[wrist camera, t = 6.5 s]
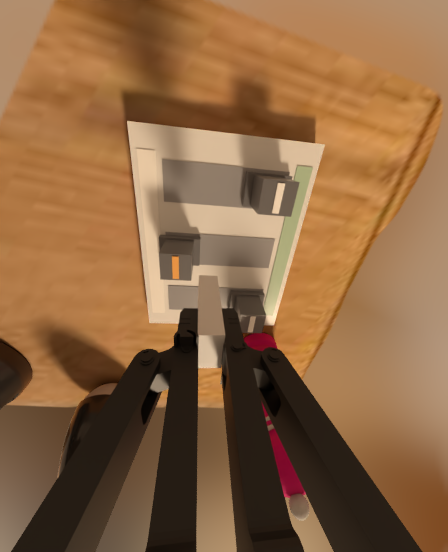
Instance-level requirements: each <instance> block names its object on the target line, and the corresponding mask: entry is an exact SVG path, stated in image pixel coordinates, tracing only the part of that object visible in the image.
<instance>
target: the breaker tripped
mask: <svg viewBox="0 0 448 552" xmlns="http://www.w3.org/2000/svg"><path fill="white" fill-rule="evenodd" d="M200 241H201V237H190V236H175V235H160V236H159V248H160V252H159V265H160V280H184V281H191V279H192V271H193V266H199V265H200Z"/></svg>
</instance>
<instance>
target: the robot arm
mask: <svg viewBox="0 0 448 552" xmlns="http://www.w3.org/2000/svg"><path fill="white" fill-rule="evenodd" d="M221 364H222V376H221V383H220V384H222V388H223V399H224V410H225V421H226V433H227V444H228V455H229V465H230V477H231V489H232V500H233V511H234V522H235V533H236V545H237V552H304V550H303V546H302V544H301V541H300V539H299V537H298V535H297V533H296V532H295V530H294V529H293V527H292V524H291V521H290V517H289V513H288V509H287V505H286V501H285V497H284V493H283V489H282V484H281V480H280V476H279V472H278V468H277V464H276V460H275V456H274V451H273V447H272V443H271V439H270V435H269V431H268V427H267V423H266V418H265V414H264V410H263V406H262V403H263V405H264V408H265V410H266V412H267V414H268V416H269V418H270V420H271V422H272V424H273V426H274V428H275V430H276V433H277V435H278V437H279V439H280V441H281V443H282V445H283V447H284V449H285V451H286V453H287V455H288V457H289V460H290V462H291V464H292V466H293V468H294V470H295V472H296V474H297V476H298V478H299V480H300V482H301V484H302V487H303V489H304V491H305V493H306V495H307V497H308V499H309V501H310V503H311V505H312V507H313V509H314V512H315V514H316V515H317V518H318V520H319V522H320V524H321V526H322V528H323V530H324V532H325V534H326V536H327V538H328V540H329V543H330V545H331V547H332V549H333V551H334V552H422V551H421V549H420V548H419V546H418V545H417V544H416V542H415V541H414V539H413V538H412V536H411V535H410V533H409V532H408V531H407V530H406V528H405V526H404V525H403V523H402V522H401V521H400V519H399V518H398V516H397V515H396V514H395V512H394V511H393V509H392V508H391V506H390V505H389V503H388V502H387V501H386V499H385V498H384V496H383V495H382V494H381V492H380V491H379V489H378V488H377V487H376V485H375V484H374V482H373V481H372V479H371V478H370V476H369V475H368V474H367V472H366V471H365V469H364V468H363V466H362V465H361V464H360V462H359V461H358V459H357V458H356V457H355V455H354V454H353V452H352V451H351V449H350V448H349V447H348V445H347V444H346V442H345V441H344V440H343V438H342V437H341V435H340V434H339V433H338V431H337V429H336V428H335V427H334V425H333V424H332V422H331V421H330V420H329V418H328V417H327V415H326V414H325V412H324V411H323V409H322V408H321V407H320V405H319V404H318V402H317V401H316V400H315V398H314V396H313V395H312V394H311V392H310V391H309V390H308V388H307V386H306V385H305V384H304V382H303V381H302V379H301V378H300V376H299V375H298V374H297V372H296V371H295V369H294V368H293V367H292V365H291V364H290V362H289V361H288V359H287V358H286V357H285V355H284V354H283V353H282V352H281V351H280V350H278V349H277V348H273V347H268V348H265V349H264V350H263V351H259V350H255V349H253V348H251V347H249V346H248V345H247V343H246V342H244V339H243V335H242V330H241V326H240V322H239V317H238V313H237V312H236V311H235V309H234V308H222V307H221V299H220V292H219V285H218V277H217V276H208V275H199V286H198V308H184V309H183V310H182V311H181V312H180V318H179V325H178V331H177V332H176V333H175V335H174V346H173V347H172V348H170V349H169V350H166V351H163V352H160V353H158V352H157V351H156V350H153V349H146V350H142V351H141V352H139V353H138V354H137V355H136V356H135V357H134V359H133V360H132V362H131V363H130V365H129V366H128V368H127V370H126V371H125V373H124V374H123V376H122V377H121V379H120V381H119V382H118V384H117V385H116V387H115V389H114V390H113V392H112V393H111V395H110V396H109V398H108V400H107V401H106V403H105V404H104V406H103V408H102V409H101V411H100V412H99V414H98V415H97V417H96V419H95V420H94V422H93V423H92V425H91V426H90V428H89V430H88V431H87V433H86V434H85V436H84V438H83V439H82V441H81V442H80V444H79V445H78V447H77V449H76V450H75V452H74V453H73V455H72V456H71V458H70V460H69V461H68V463H67V464H66V466H65V468H64V469H63V471H62V472H61V474H60V475H59V477H58V479H57V480H56V482H55V483H54V485H53V487H52V488H51V490H50V491H49V493H48V495H47V496H46V498H45V499H44V501H43V502H42V504H41V505H40V507H39V509H38V510H37V512H36V513H35V515H34V517H33V518H32V520H31V522H30V523H29V525H28V526H27V528H26V529H25V531H24V532H23V534H22V536H21V537H20V539H19V540H18V542H17V543H16V545H15V547H14V548H13V550H12V551H11V552H95V551H96V549H97V546H98V544H99V541H100V539H101V537H102V534H103V532H104V529H105V527H106V525H107V522H108V520H109V517H110V515H111V513H112V510H113V508H114V505H115V503H116V500H117V498H118V496H119V493H120V491H121V489H122V486H123V484H124V481H125V479H126V477H127V474H128V472H129V469H130V467H131V465H132V462H133V460H134V457H135V455H136V453H137V450H138V448H139V446H140V443H141V441H142V438H143V436H144V434H145V431H146V429H147V426H148V424H149V422H150V419H151V417H152V414H153V412H154V410H155V407H156V405H157V402H158V400H159V398H160V395H161V393H162V391H164V390H167V389H169V390H168V397H167V404H166V412H165V419H164V426H163V434H162V441H161V448H160V456H159V463H158V470H157V478H156V485H155V492H154V500H153V508H152V514H151V522H150V529H149V536H148V542H147V547H146V551H145V552H196V506H197V505H196V504H197V420H198V418H197V417H198V414H197V413H198V368H221ZM31 379H32V369H31V367H30V365H29V363H28V362H27V361H26V360H25V358H24V357H23V356H21V355H20V354H19V353H18V352H17V351H15V350H14V349H12V348H11V347H9V346H7V345H5V344H3V343H1V342H0V409H1V408H3V407H4V406H5V405H6V404H7V403H9V402H11V401H13V400H14V399H16V398H17V397H18V396H19V395H20V394H21V393H22V392H23V390H24V389H25V388H26V386H27V385H28V384H29V383H30V381H31ZM261 401H262V402H261Z"/></svg>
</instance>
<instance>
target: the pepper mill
mask: <svg viewBox="0 0 448 552" xmlns="http://www.w3.org/2000/svg"><path fill="white" fill-rule="evenodd" d="M244 342H246V343H247V345H248V346H249V347H251V348H253V349H255V350H259V351H263V350H264V349H265V348H268V347H273V348H277V346H276V343H275V340H274V338H273V337H272V336H270V335H268V334H266V333H253V334H250V335H248V336H246V337H245V338H244ZM261 402H262V401H261ZM262 406H263V410H264V414H265V418H266V423H267V427H268V431H269V435H270V439H271V443H272V447H273V451H274V456H275V460H276V464H277V468H278V472H279V476H280V480H281V484H282V489H283V493H284V497H288V498H290V500H289V506H290V510H291V512H292V514H293V515H294V517H295V518H296V519H298V520H305V519H306V518H307V517H308V515H309V504H308V502H307V500H306V498H305V497H304V496H303V495H305V494H306V493H305V491H304V489H303V487H302V484H301V482H300V480H299V478H298V476H297V474H296V472H295V470H294V468H293V466H292V464H291V462H290V460H289V457H288V455H287V453H286V451H285V449H284V447H283V445H282V443H281V441H280V439H279V437H278V435H277V433H276V430H275V428H274V426H273V424H272V422H271V420H270V418H269V416H268V414H267V412H266V410H265V408H264V405H263V403H262Z"/></svg>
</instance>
